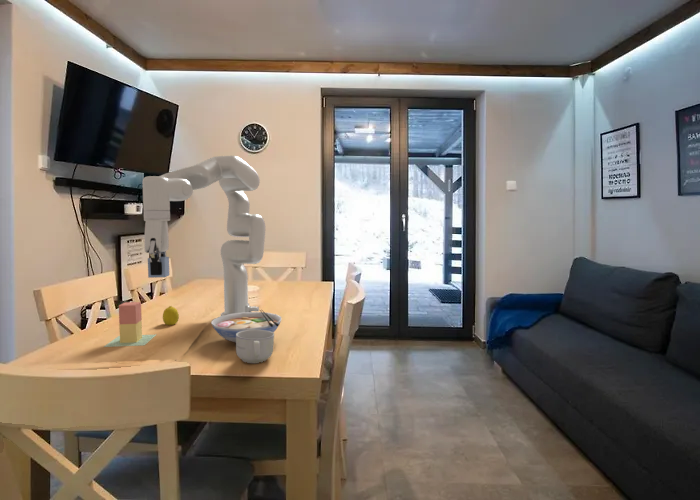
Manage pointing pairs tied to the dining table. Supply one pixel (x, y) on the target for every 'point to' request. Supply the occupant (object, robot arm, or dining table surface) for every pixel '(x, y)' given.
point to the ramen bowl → (245, 323)
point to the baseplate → (142, 341)
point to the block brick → (130, 313)
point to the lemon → (170, 316)
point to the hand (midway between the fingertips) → (159, 273)
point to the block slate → (164, 268)
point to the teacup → (254, 345)
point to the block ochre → (130, 332)
